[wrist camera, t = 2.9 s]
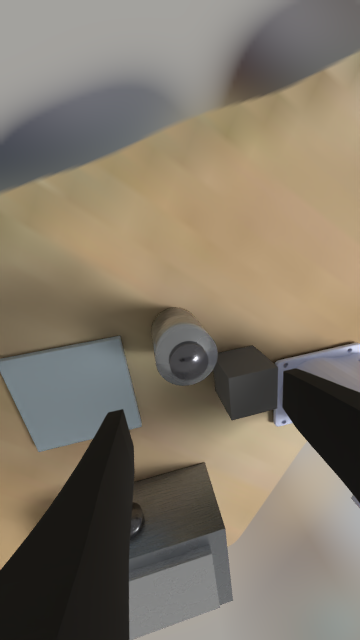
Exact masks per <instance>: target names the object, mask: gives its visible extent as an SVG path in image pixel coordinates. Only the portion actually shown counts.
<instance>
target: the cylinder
mask: <svg viewBox="0 0 360 640" xmlns="http://www.w3.org/2000/svg"><path fill="white" fill-rule="evenodd" d="M151 334H152V340H153V347H154V354H155V360H156V366H157V369H158V372H159V373H160V375H161V376H162V377H163V378H164V379H165V380H166V381H168V382H170V383H172V384H175V385H181V386H186V385H192V384H195V383H198V382H200V381H202V380H203V379H205V378H206V377H207V376H208V375H209V374H210V373H211V372H212V370H213V369H214V367H215V365H216V362H217V357H218V351H217V347H216V344H215V342H214V341H213V339H212V338H211V337H210V335H209V334H208V333H207V332H206V330H205V329H204V328H203V327H202V325H201V324H200V323H199V322H198V321H197V319H196V318H195V317H194V316H193V315H192V313H190V312H189V311H187V310H185V309H182V308H170V309H167V310H164V311H163V312H161V313H160V314H159V315H158V316H157V317H156V318H155V320H154V322H153V324H152V328H151Z"/></svg>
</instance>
